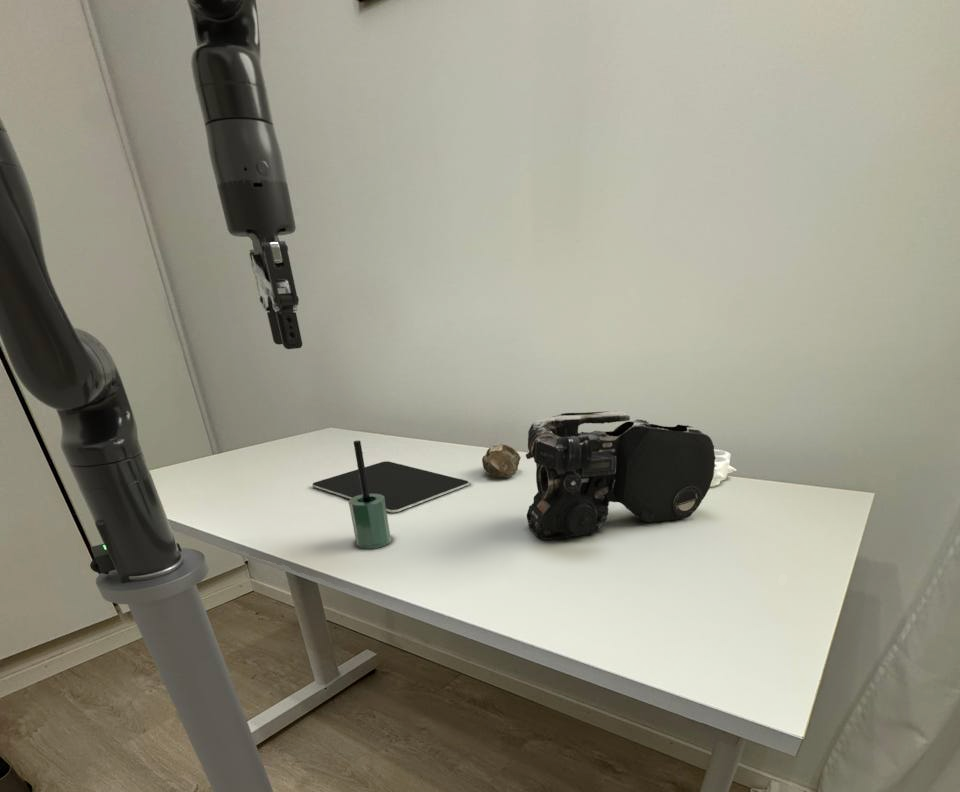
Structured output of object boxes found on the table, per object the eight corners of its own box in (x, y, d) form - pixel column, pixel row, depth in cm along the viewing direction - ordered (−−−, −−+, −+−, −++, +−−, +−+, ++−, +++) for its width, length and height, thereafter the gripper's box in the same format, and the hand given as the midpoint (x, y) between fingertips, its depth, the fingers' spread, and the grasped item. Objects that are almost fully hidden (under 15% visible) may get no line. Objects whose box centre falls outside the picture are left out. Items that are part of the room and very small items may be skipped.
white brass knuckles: (673, 461, 117) (745, 470, 108) (634, 484, 105) (711, 497, 97) (676, 444, 115) (749, 453, 107) (636, 466, 104) (715, 477, 95)
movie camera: (533, 557, 78) (537, 426, 69) (506, 519, 93) (506, 408, 85) (735, 540, 82) (762, 414, 74) (677, 506, 98) (694, 399, 89)
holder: (366, 552, 85) (358, 508, 81) (350, 541, 89) (342, 499, 85) (397, 542, 88) (390, 499, 84) (380, 532, 91) (374, 491, 88)
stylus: (371, 540, 87) (355, 442, 79) (369, 538, 88) (352, 441, 80) (377, 538, 88) (361, 441, 80) (374, 536, 88) (358, 439, 80)
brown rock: (488, 454, 120) (470, 475, 113) (501, 428, 115) (482, 449, 108) (518, 473, 120) (501, 495, 113) (531, 448, 115) (515, 470, 108)
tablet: (309, 483, 114) (385, 460, 126) (310, 486, 114) (386, 463, 126) (393, 510, 98) (471, 481, 110) (393, 514, 98) (471, 485, 110)
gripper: (212, 191, 66) (251, 345, 74) (220, 169, 55) (264, 353, 63) (277, 191, 68) (307, 340, 77) (296, 170, 57) (329, 346, 66)
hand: (288, 346), depth 70 cm, fingers open, 8 cm apart
